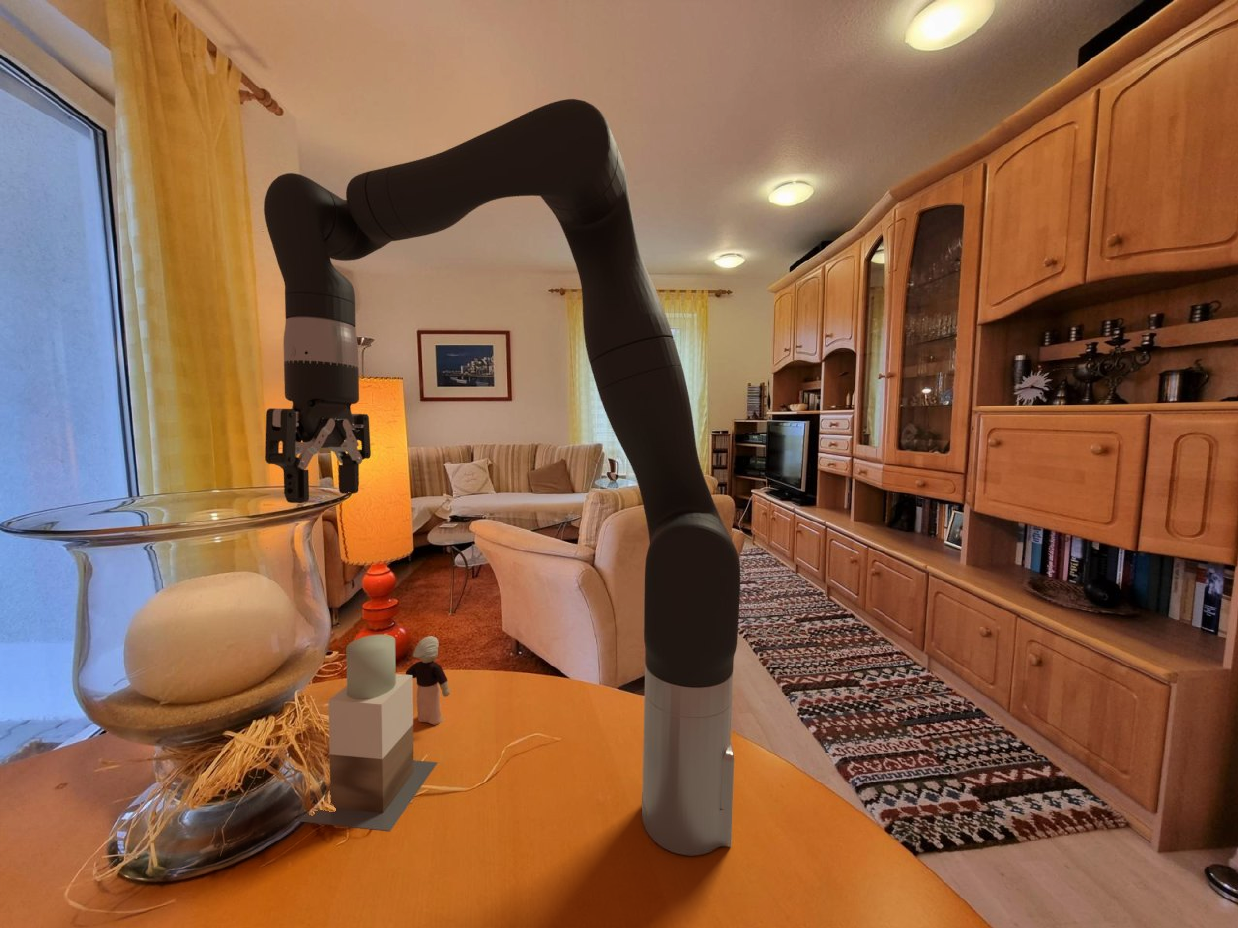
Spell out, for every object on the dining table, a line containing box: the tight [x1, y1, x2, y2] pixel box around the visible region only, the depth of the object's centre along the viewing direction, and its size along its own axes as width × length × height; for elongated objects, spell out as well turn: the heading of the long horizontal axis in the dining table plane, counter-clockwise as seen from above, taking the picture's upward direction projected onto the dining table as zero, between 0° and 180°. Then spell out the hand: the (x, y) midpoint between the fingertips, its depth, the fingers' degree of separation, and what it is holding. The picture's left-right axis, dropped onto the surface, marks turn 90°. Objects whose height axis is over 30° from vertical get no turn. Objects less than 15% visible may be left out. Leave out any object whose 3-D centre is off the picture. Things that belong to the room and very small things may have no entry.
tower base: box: [329, 724, 414, 813], centre depth 53 cm, size 6×6×6 cm
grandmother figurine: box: [405, 635, 451, 726], centre depth 66 cm, size 8×4×13 cm, turn 82°
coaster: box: [298, 759, 438, 832], centre depth 53 cm, size 10×10×1 cm
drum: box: [345, 634, 397, 699], centre depth 52 cm, size 5×5×5 cm
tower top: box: [327, 673, 414, 759], centre depth 53 cm, size 6×6×6 cm
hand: (325, 497), depth 57 cm, fingers open, 8 cm apart
